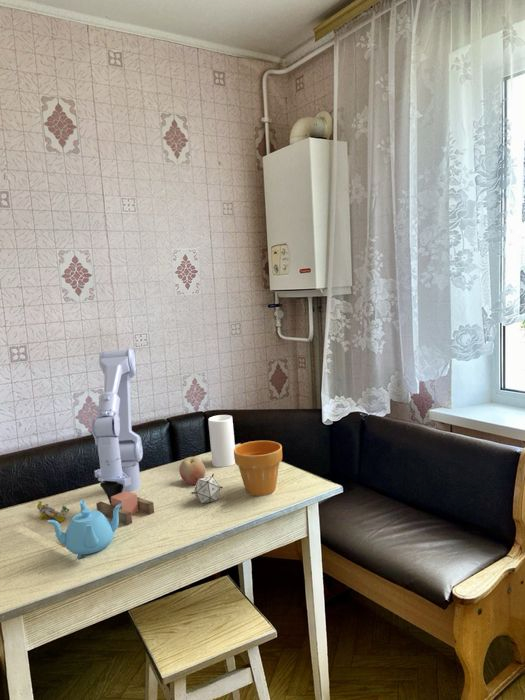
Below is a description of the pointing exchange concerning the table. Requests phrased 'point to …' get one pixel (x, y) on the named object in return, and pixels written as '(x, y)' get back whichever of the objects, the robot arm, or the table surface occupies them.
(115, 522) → the teapot
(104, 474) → the robot arm
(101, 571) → the table surface
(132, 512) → the block
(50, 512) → the toy
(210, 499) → the game die
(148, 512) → the chute
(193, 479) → the fruit
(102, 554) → the table surface
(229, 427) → the white tall cylinder
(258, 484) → the flower pot
